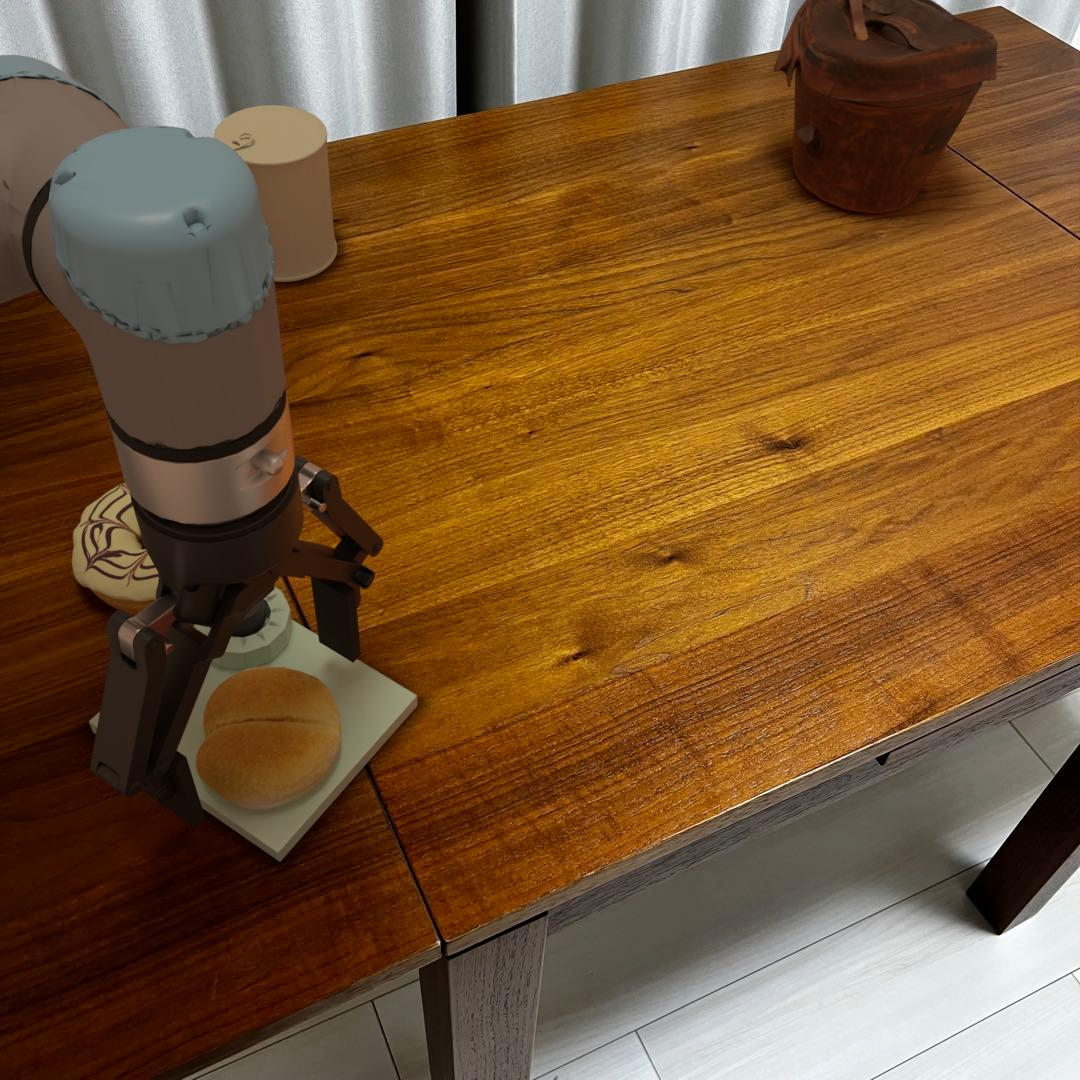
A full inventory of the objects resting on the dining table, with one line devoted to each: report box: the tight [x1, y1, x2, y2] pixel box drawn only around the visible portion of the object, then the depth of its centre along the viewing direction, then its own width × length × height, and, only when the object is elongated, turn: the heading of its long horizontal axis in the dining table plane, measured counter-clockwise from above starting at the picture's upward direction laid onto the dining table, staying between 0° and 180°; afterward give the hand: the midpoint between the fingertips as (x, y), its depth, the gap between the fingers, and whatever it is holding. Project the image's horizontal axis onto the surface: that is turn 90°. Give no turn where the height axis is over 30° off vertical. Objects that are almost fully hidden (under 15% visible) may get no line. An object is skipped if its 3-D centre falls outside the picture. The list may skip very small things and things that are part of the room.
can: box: [213, 104, 338, 283], centre depth 102 cm, size 9×9×12 cm
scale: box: [88, 586, 418, 863], centre depth 73 cm, size 15×13×3 cm
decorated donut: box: [71, 482, 159, 616], centre depth 81 cm, size 10×11×4 cm
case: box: [773, 0, 998, 214], centre depth 113 cm, size 18×20×18 cm
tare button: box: [232, 599, 266, 637], centre depth 75 cm, size 3×3×2 cm
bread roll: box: [195, 667, 341, 810], centre depth 70 cm, size 8×9×4 cm
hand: (265, 725), depth 70 cm, fingers open, 13 cm apart
